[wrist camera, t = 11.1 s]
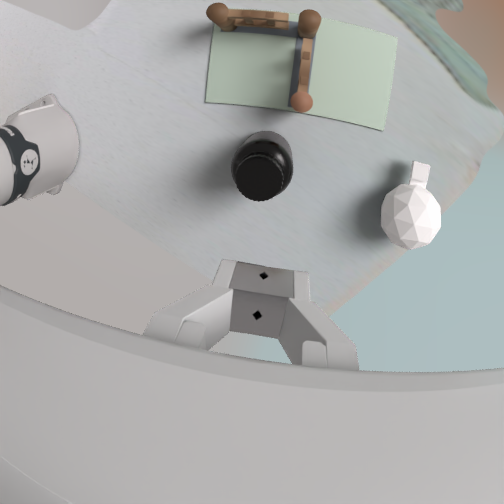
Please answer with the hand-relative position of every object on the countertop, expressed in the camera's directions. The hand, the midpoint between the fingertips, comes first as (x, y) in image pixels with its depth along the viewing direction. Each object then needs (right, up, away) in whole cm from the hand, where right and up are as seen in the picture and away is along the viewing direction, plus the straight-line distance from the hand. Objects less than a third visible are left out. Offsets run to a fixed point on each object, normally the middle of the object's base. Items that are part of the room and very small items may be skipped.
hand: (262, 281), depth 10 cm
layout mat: (+6, +25, +21) cm, 33 cm away
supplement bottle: (+2, +14, +28) cm, 31 cm away
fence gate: (+6, +23, +21) cm, 32 cm away
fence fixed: (+2, +30, +18) cm, 35 cm away
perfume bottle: (+22, +9, +28) cm, 37 cm away
